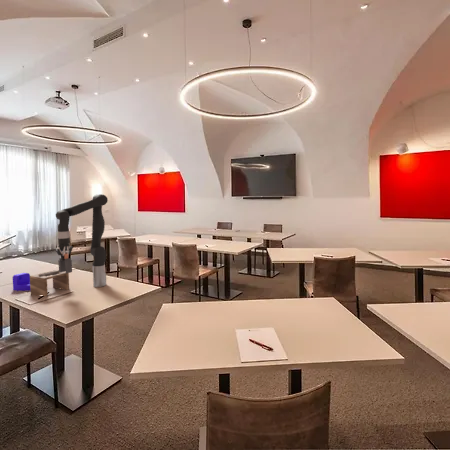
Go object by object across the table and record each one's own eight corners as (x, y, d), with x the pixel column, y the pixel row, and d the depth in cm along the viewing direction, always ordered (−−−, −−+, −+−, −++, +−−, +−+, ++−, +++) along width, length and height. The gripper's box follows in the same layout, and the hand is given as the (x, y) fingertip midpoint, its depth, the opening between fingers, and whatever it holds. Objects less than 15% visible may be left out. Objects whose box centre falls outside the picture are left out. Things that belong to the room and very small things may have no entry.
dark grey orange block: (63, 270, 223) (62, 252, 222) (72, 272, 219) (71, 253, 218) (59, 272, 219) (58, 253, 218) (67, 273, 216) (66, 254, 214)
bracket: (13, 290, 229) (12, 275, 228) (26, 286, 240) (25, 272, 239) (30, 292, 224) (29, 277, 223) (43, 288, 234) (42, 273, 233)
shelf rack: (55, 287, 237) (54, 268, 236) (69, 289, 231) (68, 270, 229) (30, 294, 219) (29, 274, 217) (45, 297, 212) (44, 276, 211)
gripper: (68, 236, 225) (69, 258, 226) (51, 238, 212) (52, 261, 214) (75, 236, 222) (76, 258, 223) (58, 238, 209) (60, 262, 211)
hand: (64, 260), depth 218 cm, fingers closed on dark grey orange block, 2 cm apart
